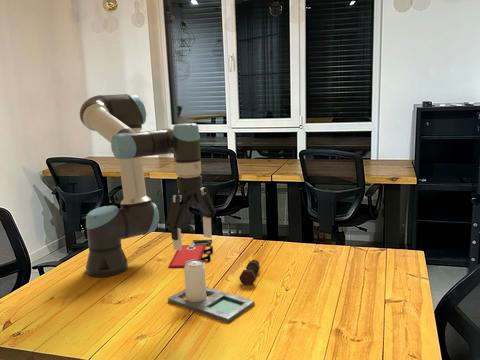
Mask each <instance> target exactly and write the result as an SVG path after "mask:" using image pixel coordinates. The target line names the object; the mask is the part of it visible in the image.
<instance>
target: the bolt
mask: <svg viewBox="0 0 480 360" xmlns="http://www.w3.org/2000/svg"><path fill="white" fill-rule="evenodd" d="M260 269H261V267H260V262H259V261H258V260H256V259H252V260H249V262H248V263H247V265H246V267H245V269H243V270H242V272H241V273H240V275H239V277H238V279H239V281H240V283H241V285H243V286H253V285H254V283H255V282H256V280H257V276H256V275H257V274H258V272H259V270H260Z"/></svg>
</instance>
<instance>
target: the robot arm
mask: <svg viewBox="0 0 480 360" xmlns="http://www.w3.org/2000/svg"><path fill="white" fill-rule="evenodd" d="M79 119H80V121H81V123H82V124H83V125H84V126H85V127H86V128H87V129H88V130H90V131H93V132H97V134H99V135H100V136H101V137H103V139H105V140H106V141H107V142H109V143H110V148H111V152H112V154H113V156H114V158H116V159H118V162H119V163H118V164H119V171H120V172H119V173H120V179H121V180H120V181H121V187H122V195H123V199H122V200H121V202H120V208H118V206H116V205H104V206H100V207H97V208H94V209H92V210H90V211H89V212H88V213H87V214H86V216H85V228H86V233H87V244H88V256H87V260H86V265H85V272H86V274H87V276H90V277H92V278H93V277H95V278H107V277H112V276H115V275H119V274H122V273H123V272H125V271H127V269H128V268H129V263H128V262H129V261H128V258H127V257H126V255H125V252H124V250H123V247H122V240H126V239H129V238H134V237H138V236H145V235H147V234H150V233H153V232H155V231H156V230H157V228H158V227H159V226H158V225H159V221H160V214H159V213H160V212H159V209H158V206H157V205H156V203H155V202H152V199H151V197H150V196H148V195H147V188H146V180H145V174H144V167H143V165H144V164H143V158H144V157H152V156H153V157H154V156H162V155H163V156H164V155H170V154H171V155H174V158H175V160H174V161H175V173H176V174H175V175H176V176H177V177H176V188H177V189H178V191H179V193H178V194H177V195H176V194H172V195H171V196H170V197H171V198H170V207H169V209H168V213H167V218H166V220H165V225H164V227H165V228H166V229H169V230H170V233H171V234H170V235H171V240H172V244H173V245H172V246H173V250H175V251H177V250H179V251H181V250H182V245H183V244H182V230H181V228H180V225H181V223H182V221H183V218H184V217H185V214H186V212H187V211H188V210H189V209H190V208H191V207H193V206H196V207H197V208H198V209H199V211H200V212H201V214H203V215H204V216H203V217H202V226H203V227H202V229H203V237H204V238H207V239H211V238H213V237H212V225H213V224H212V223H213V222H212V221H213V220H212V219H213V218H215V215H216V214H217V210H216V208H215V205H214V203H213V201H212V199H211V196H210V194H209V188H208V187H203V176H202V175H201V174H202V163H201V162H202V161H201V157H202V155H201V139H200V138H201V136H200V132H199V131H200V130H199V125H198V124H197V123H193V122H192V123H190V122H189V123H188V122H187V123H177V124H174V125H173V129H172V128H163V129H160V130H148V131H147V130H146V131H142V130H143V125H144V124H145V123H146V121H147V110H146V107H145V104H144V102H143V101H142V99H141V98H140V96H138V95H136V94H128V93H124V94H123V93H121V94H107V95H106V94H103V95H101V94H100V95H99V94H98V95H94V96H92V97H89V98H88V99H86V100H85V101H84V102H83V104H81V107H80V109H79Z"/></svg>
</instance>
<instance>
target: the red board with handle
mask: <svg viewBox="0 0 480 360" xmlns="http://www.w3.org/2000/svg"><path fill="white" fill-rule="evenodd" d="M212 241H213V239H193V240H192V241H191V243H190V244H185V245H183V244H182V250H181V251H179V250H175V253H174V255H173V257H172V259H171V260H170V263H169V265H168V267H167V268H168V269H181V268H182V269H184V267H185V263H186V262H187V261H189V260H194V259H197V260H202V261H203V262H204V261H206V260H207V262H211V255H213V254H214V248H213V245H211V244H212V243H213V242H212ZM207 245H208V246H209V248H206V247H207ZM210 245H211V246H210ZM209 252H210V253H209ZM205 253H207V255H206V256H203V255H204V254H205Z"/></svg>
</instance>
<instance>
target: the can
mask: <svg viewBox="0 0 480 360" xmlns="http://www.w3.org/2000/svg"><path fill="white" fill-rule="evenodd" d="M183 270H184V271H183V272H184V273H183V274H184V287H185V288H184V289H185V291H186V296H185V300H188V301H191V302H194V303H199V302H201V301H202V300H204V299H206V298H207V294H206V287H207V281H206V265H205V264H204V260H203V261H202V260H197V259H194V260H189V261H187V262H186V263H185V267H184V268H183Z"/></svg>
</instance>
